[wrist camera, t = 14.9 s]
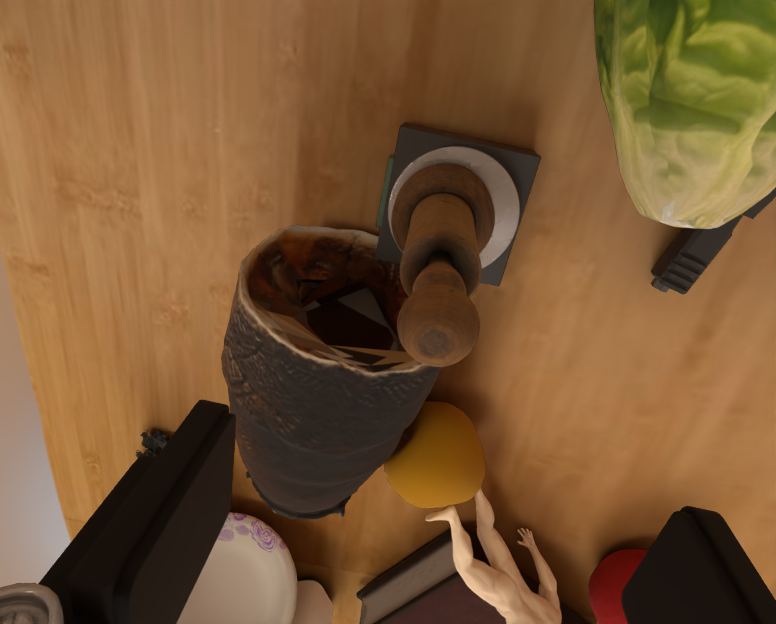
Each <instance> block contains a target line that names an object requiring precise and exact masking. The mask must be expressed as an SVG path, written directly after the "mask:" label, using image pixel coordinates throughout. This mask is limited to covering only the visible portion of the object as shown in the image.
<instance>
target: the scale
mask: <svg viewBox="0 0 776 624" xmlns="http://www.w3.org/2000/svg"><path fill="white" fill-rule="evenodd" d="M540 159H541V157H540V156H539V155H538V154H537V153H536V152H535V151H533V150H529V149H524V148H519V147H515V146H510V145H506V144H501V143H497V142H492V141H487V140H483V139H478V138H474V137H469V136H465V135H460V134H455V133H451V132H446V131H442V130H437V129H433V128H428V127H424V126H419V125H414V124H410V123H403V124H402V125H401V126H400V129H399V134H398V140H397V145H396V150H395V155H391V156H390V157H389V160H388V165H387V171H386V176H385V181H384V187H383V192H382V197H381V203H380V208H379V213H378V219H377V224H376V226H377V227H381V228H380V233H379V238H378V244H377V249H376V254H375V259H378V260H382V261H387V262H391V263H396V264H400V263H401V259H402V256H403V252H402V250H401V249H400V248H399V246H398V245H397V243H396V241H395V238H394V236H393V232H392V227H391V216H392V210H393V206H394V203H395V200H396V197H397V195H398V193H399V191H400V189H401V188H402V186H403V185H404V184H405V182H406V181H407V180H408V179H409V178H410V177H411V176H413V175H414V174H415V173H417V172H418V171H420V170H422V169H424V168H427V167H430V166H433V165H438V164H452V165H457V166H460V167H463V168H465V169H467V170H469V171H471V172H473V173H474V174H475V175H477V176H478V177H479V178H480V179H481V180H482V181H483V183H484V184H485V185H486V187H487V189H488V191H489V193H490V195H491V198H492V202H493V205H494V210H495V225H494V230H493V233H492V236H491V238H490V240H489V242H488V244H487V246H486V247H485V248H484V249H483V251H482V252H481V253H480V254H479V255H480V260H481V266H482V275H481V280H480V282H481V283H485V284H490V285H494V286H500V283H501V280H502V277H503V274H504V270H505V267H506V264H507V261H508V258H509V255H510V252H511V249H512V246H513V243H514V240H515V237H516V233H517V230H518V227H519V224H520V221H521V218H522V215H523V212H524V209H525V206H526V203H527V200H528V196H529V193H530V190H531V187H532V184H533V181H534V178H535V175H536V172H537V169H538V166H539V163H540Z"/></svg>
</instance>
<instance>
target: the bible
mask: <svg viewBox="0 0 776 624" xmlns="http://www.w3.org/2000/svg"><path fill="white" fill-rule="evenodd" d="M463 529H464V528H463ZM464 530H465V529H464ZM465 531H466V530H465ZM466 532H467V533H468V535H469V537H470V539H471V545H472V550H473V558H474V559H477V560H479V561H482V562H484V563H486V564H487V565H488V566H490V567H491V565H490V563H489V561H488V558H487V556H486V554H485V552H484V549H483V547H482V545H481V543H480V540H478V539H477V538H476V537H474V536H473V535H472V534H470V533H469V532H468V531H466ZM519 572H520V571H519ZM520 574H521V577H522V578H523V580H524V581H525V583H526V585H527V586H528V587H529V589H530V590H531V591H532V592H533V593H535V594H538V591H539V585H538V584H536V583H535V582H534V581H532V580H531V579H530V578H528V577H527V576H526V575H524V574H523V573H522V572H520ZM538 595H539V594H538ZM357 597H358V598H359V599H360V600H362V609H361V617H360V623H359V624H507V623H506V618H505V617H503V616H502V615H501V614H500V613H499V612H498V611H497V609H496V607H495V606H492V605H491V604H489V603H488V602H486V601H485V600H483V599H482V598H480V597H479V596H478V595H477V594H476V593H474V592H473V591H472V590H471V589H470V588H469V587H468V586H467V585H466V583H465V582H464V580H463V578H462V577H461V575H460V574H459V572H458V571H457V569H456V567H455V563H454V561H453V541H452V533H451V529H450V530H449V531H447V532H446V533H444V534H443V535H441V536H440V537H438V538H437V539H435V540H434V541H432V542H431V543H429V544H428V545H426V546H425V547H423V548H422V549H420V550H419V551H417V552H416V553H414V554H413V555H411V556H410V557H408V558H407V559H405V560H404V561H402V562H401V563H399V564H398V565H396V566H395V567H393V568H392V569H390V570H389V571H387V572H386V573H384V574H383V575H381V576H380V577H378V578H377V579H375V580H374V581H372V582H371V583H370V584H368V585H367V586H365V587H364V588H363V589H361V590H360V591H358V592H357ZM559 603H560V610H561V615H562V620H561V624H589V623H588V622H586V621H585V620H584V619H582V618H581V617H580V616H578V615H577V614H576V613H574V612H573V611H572V610H571V609H569V608H568V607H567V606H565V605H564V604H563V603H561V602H560V601H559Z"/></svg>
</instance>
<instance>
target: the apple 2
mask: <svg viewBox="0 0 776 624" xmlns="http://www.w3.org/2000/svg"><path fill="white" fill-rule="evenodd" d="M384 470H385V473H386V475H387V478H388V480H389V483H390V484H391V486H392V487H393V488H394V489H395V491H396V492H397V493H398V494H399V495H400V496H401V497H402V498H403V499H404V500H405V501H406V502H407V503H409V504H412V505H415V506H417V507H420V508H435V507H444V506H449V505H454V504H458V503H462V502H466V501H469V500H470V499H471V498H472V497H474V495H475V494H476V493H477V492H478V490H479V489H480V487H481V485H482V482H483V480H484V476H485V471H486V461H485V456H484V452H483V448H482V445H481V442H480V439H479V436H478V433H477V430H476V428H475V426H474V425H473V423H472V421H471V419H470V418H469V417H468V416H467V415H466V414H465V413H464V412H463V411H462V410H461V409H459V408H457V407H455V406H453V405H451V404H449V403H447V402H435V401H424V403H423V405H422V407H421V409H420V410H419V412H418V414H417V416H416V417H415V419H414V420H413V422H412V423H411V424H410V425H409V426H408V427H407V428H405V429H404V431H403V433H402V436H401V438H400V441H399V443H398V445H397V446H396V448H395V450H394V452H393V453H392V454H391V455H390V457H389V458H388V459H387V460H386V461H385V462H384Z"/></svg>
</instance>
